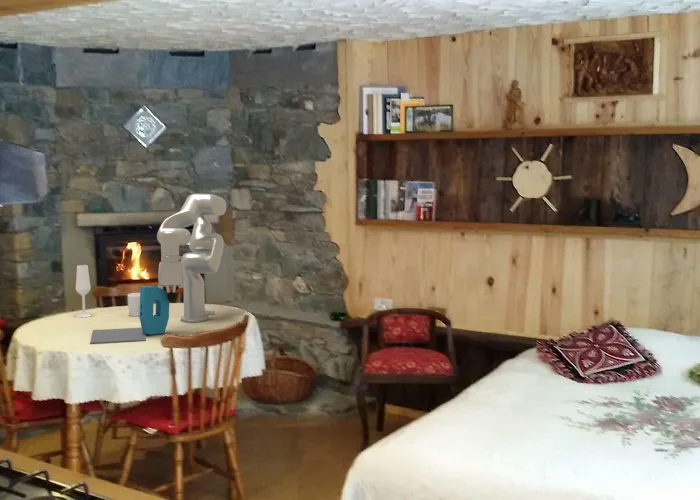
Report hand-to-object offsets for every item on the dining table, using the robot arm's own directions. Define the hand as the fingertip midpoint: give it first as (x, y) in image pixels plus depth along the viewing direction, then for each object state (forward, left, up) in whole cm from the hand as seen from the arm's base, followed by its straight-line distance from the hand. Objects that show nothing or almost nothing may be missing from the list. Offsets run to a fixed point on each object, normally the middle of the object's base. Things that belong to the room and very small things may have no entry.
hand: (171, 301), depth 328 cm
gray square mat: (+22, 0, -14) cm, 26 cm away
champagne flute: (+38, -44, -14) cm, 60 cm away
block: (+8, 0, -14) cm, 16 cm away
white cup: (+14, -40, -14) cm, 45 cm away
